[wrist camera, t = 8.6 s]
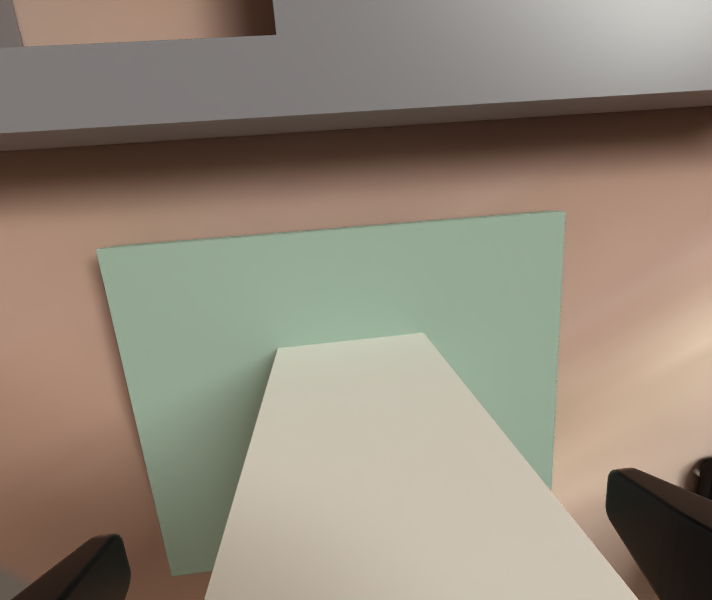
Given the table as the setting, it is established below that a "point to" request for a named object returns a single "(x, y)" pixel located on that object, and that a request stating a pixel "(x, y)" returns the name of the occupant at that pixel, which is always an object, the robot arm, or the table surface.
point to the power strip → (360, 70)
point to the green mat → (323, 337)
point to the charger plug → (393, 491)
